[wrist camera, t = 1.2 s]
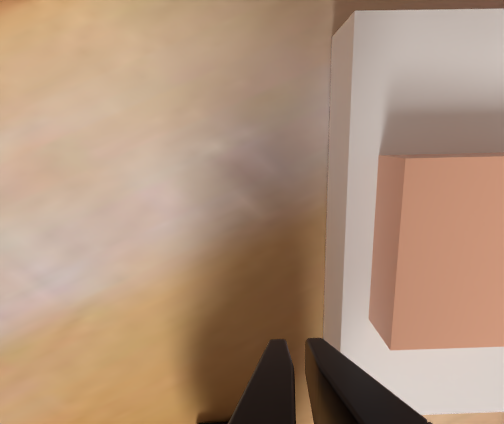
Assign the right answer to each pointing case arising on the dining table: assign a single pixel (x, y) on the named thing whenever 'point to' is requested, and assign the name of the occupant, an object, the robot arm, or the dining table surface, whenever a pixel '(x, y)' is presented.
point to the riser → (402, 143)
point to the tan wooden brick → (439, 251)
